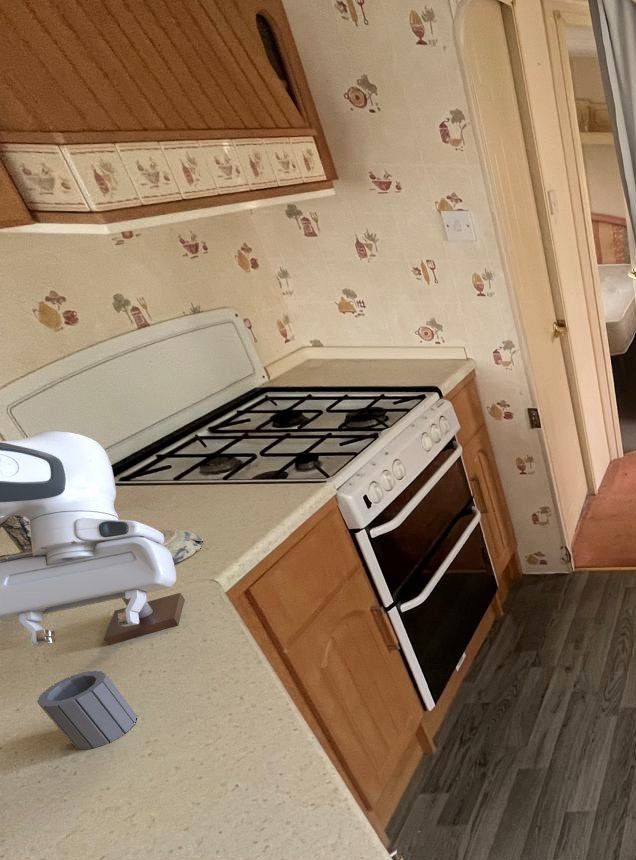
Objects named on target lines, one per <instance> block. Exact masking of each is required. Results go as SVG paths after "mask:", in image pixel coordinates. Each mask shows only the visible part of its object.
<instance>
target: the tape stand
mask: <svg viewBox="0 0 636 860" xmlns="http://www.w3.org/2000/svg"><path fill="white" fill-rule="evenodd" d="M121 600H122V601H123V602H124V604H125V606H127V605H128V603H129V601H130V600H128V599H125V597H124V598H121ZM185 600H186V599H185V597H184V595H183V594H182V592H177V593H174V594H171V595H166V596H162V597H159V598H155V599H152V600H146V602H145V604H144V605H143V607H142V609H141V611H140V612H139V613H138V615H139V624H137V625H132V626H127V627H124V626H120V625H119V623H118V621H119V618H118V614H117V613H122V612H124V611H125V609H126V607H123V608H122V607H121V608H119V609H115V610H114V611H113V614H112V617H111V619H110V622H109V624H108V627H107V629H106V631H105V634H104V637H103V639H104V640H105V642H106V644H107V645H108V646H111V645H115V644H118V643H121V642H125V641H128V640H131V639H135V638H139V637H142V636H145V635H149V634H152V633H156V632H159V631H163V630H166V629H169V628H174V627H177V626H179V624H180V621H181V616H182V613H183V608H184V603H185Z"/></svg>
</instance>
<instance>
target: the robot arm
mask: <svg viewBox="0 0 636 860" xmlns="http://www.w3.org/2000/svg"><path fill="white" fill-rule="evenodd" d="M116 488H117V487H116V480H115V476H114V471H113V467H112V464H111V460H110V458H109V455H108V453H107V451H106V450H105V448H104V447H103V446H102V445H101V444H100V443H99V442H98V441H96V440H94V439H93V438H92V437H89V436H85V435H82V434H79V433H75V432H70V431H62V430H46V431H41V432H37V433H35V434H32V435H31V436H27V437H22V438H18V439H11V440H0V530H1V529H2V526H3V525H4V524H5V523H6V521H7V520H8V519H9V518H10V517H11V516H12V515H17V516H24V517H26V518H28V519H29V521H30V532H31V544H32V550H28V551H23V552H20V551H19V552H17V553H10V554H3V555H2V554H1V555H0V622H4V623H5V622H6V623H7V622H8V623H9V622H14V621H18V623H19V624H20V625H21V626H23V627H24V628H25V630H27V631H28V632H29V633H30V636H31V643H32V645H34V646H40V647H41V646H46V645H50V644H54V643H56V638H55V636H56V633H55V631H54V630H51V629H46V628H44V627H43V626H42V625H41V624H40V623H43V622H44V621H45V619H44V615H47V614H52V613H57V612H61V611H65V610H71V609H76V608H81V607H85V606H90V605H95V604H99V603H105V602H109V601H114V600H119V599H122V598H124V597H125V599H128V600H130V601H129V603H128V605H126V607H125V608H126V609H125V611H124V612H122V613H117V614H118V618H119V621H118V623H119V625H120V626H124V627H127V626H132V625H137V624H139V615H138V613H139V612H140V611H141V609H142V607H143V605H144V604H145V602H146V601H148V596H147V593H152V592H157V591H161V590H166V589H171V588H172V587H173V586H174V584H175V583H176V582H177V571H176V566H175V564H174V562H173V559H172V556H171V553H170V551H169V550H168V549H167V548H166V547H164V546H162V544H163V543H164V535H163V534H162V533H161V532H159V531H158V530H159V529H156V528H154V527H152V526H150V525H148V524H145V523H142V522H139V521H136V520H129V519H120V517H119V515H118V513H117V510H116V509H115V501H116V498H117V489H116Z"/></svg>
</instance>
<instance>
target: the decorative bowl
mask: <svg viewBox="0 0 636 860" xmlns="http://www.w3.org/2000/svg"><path fill="white" fill-rule="evenodd" d="M157 530H158V531H159V532H161V533H162V534H163V535H164V543H163V544H162V546H164V547H166V548H167V549H168V550H169V551H170V553H171V556H172V559H173V562H174V565H175V564H177V563H178V564H179V563H180V562H183V561H184V560H186V559H187V558H190V557H192V556H193V555H194V554H195V553H196V552H198V551H199V550H201V549H200V548H202V547H201V546H202V545H201V544H199V543H198V542H202V541H204V538H203V537H201V536H199V535H197V534H195V533H193V532H191V531H188V530H187V531H186V530H180V529H179V530H175V529H169V528H168V529H167V528H165V529H157ZM196 541H198V542H196ZM202 543H203V542H202Z"/></svg>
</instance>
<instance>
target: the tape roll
mask: <svg viewBox="0 0 636 860" xmlns="http://www.w3.org/2000/svg"><path fill="white" fill-rule="evenodd" d="M36 702H37V704H38V705H39V707H40V708H41V709H42V710H43V712H44V713H45V714H46V715H47V716H48V717H49V718H50V720H51V721H52V722H53V723H54V725H55V726H56V727H57V728H58V729H59V731H60V732H61V733H62V734H63V735H64V736H65V738H66V739H67V740H68V742H70V744H71V745H72V746H73V747H75V748H76V749H78V750H92V749H96V748H99V747H101V746H105V745H108V744H109V743H112V742H114V741H116V740H117V739H119V738H121V737H123V736H124V735H125V734H127V733H128V732H129V731H130V730H131V729H132V728H133V727H134V726H135V725H134V723H135V722H136V718H137V717H138V714H137V713H136V712H135V711H134V710H133V708H132V707H131V706H130V704H129V702H128V701H127V700H126V698H125V697H124V696H123V695H122V693H121V692H120V691H119V690H118V688H117V687H116V685H115V684H114V682H112V680H111V679H110V678H109V676H108V675H107V674H106V673H105V672H103V671H102V670H88V671H83V672H79V673H77V674H74V675H70V677H69V676H68V677H66V678H64V679H61V680H60V681H58V682H56V683H54V684H53V685H50V686H49V687H48V688H47V689H46V690H44V691H43V692H42V693H41V694H40V695H39V696H38V699H37V701H36ZM137 719H138V718H137ZM136 723H137V722H136ZM133 725H134V726H133ZM132 726H133V727H132ZM131 727H132V728H131ZM130 728H131V729H130ZM129 729H130V730H129ZM128 730H129V731H128ZM127 731H128V732H127ZM126 732H127V733H126ZM122 735H123V736H122Z"/></svg>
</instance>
